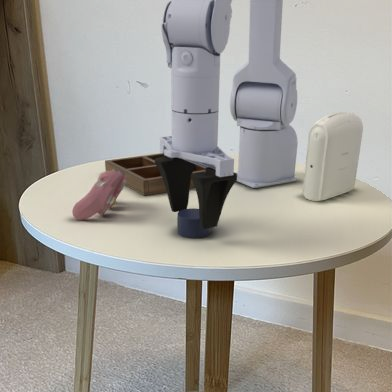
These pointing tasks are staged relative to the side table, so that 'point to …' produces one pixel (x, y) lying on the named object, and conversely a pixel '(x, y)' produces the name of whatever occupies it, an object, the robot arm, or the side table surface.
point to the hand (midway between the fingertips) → (193, 218)
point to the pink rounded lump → (100, 195)
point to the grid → (143, 173)
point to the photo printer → (332, 156)
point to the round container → (190, 224)
